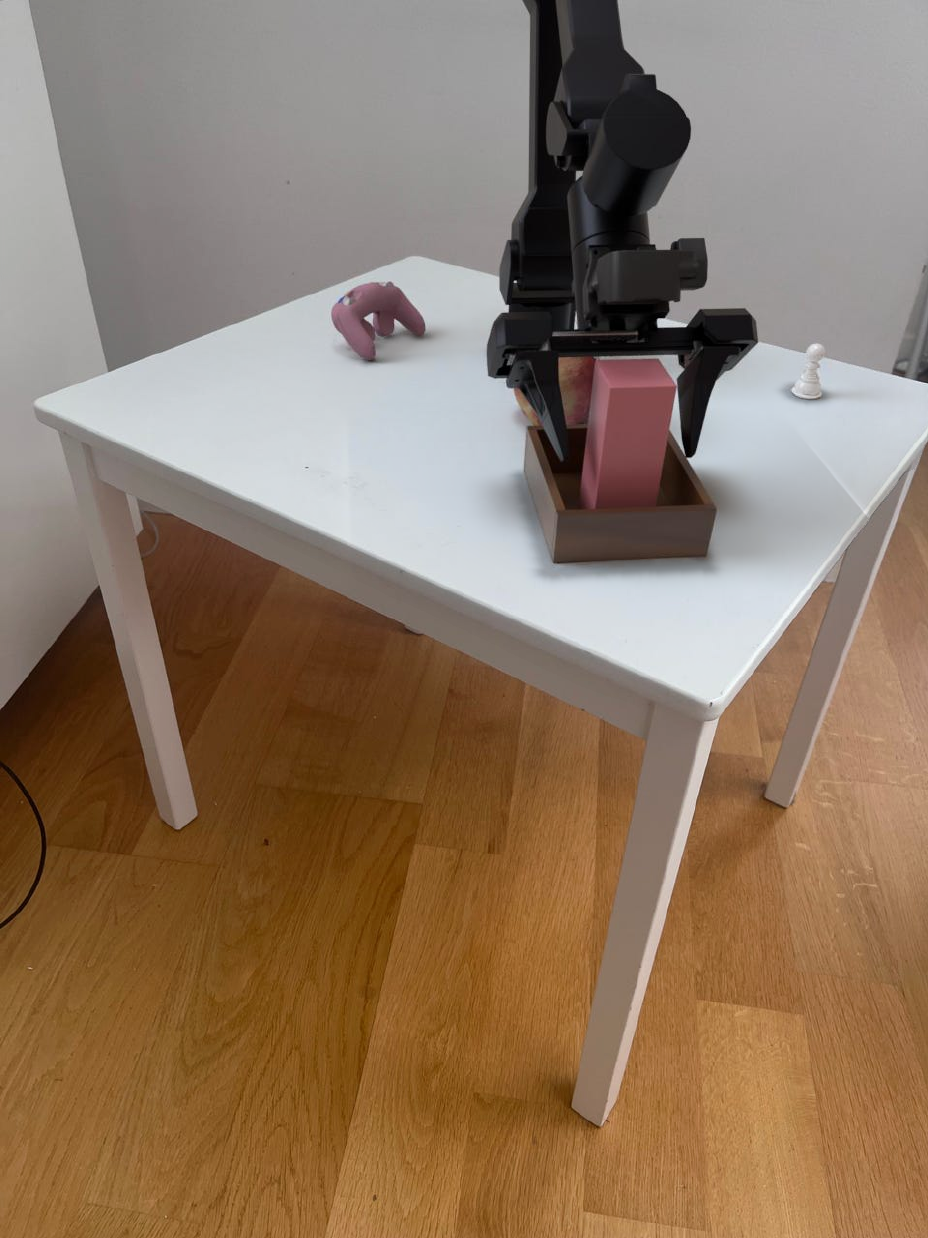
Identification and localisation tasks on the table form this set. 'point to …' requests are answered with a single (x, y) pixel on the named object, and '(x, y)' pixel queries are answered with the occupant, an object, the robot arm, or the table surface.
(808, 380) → the chess pawn
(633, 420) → the rose block
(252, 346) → the table surface
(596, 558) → the crate
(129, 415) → the table surface
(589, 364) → the fruit
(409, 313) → the video game controller
